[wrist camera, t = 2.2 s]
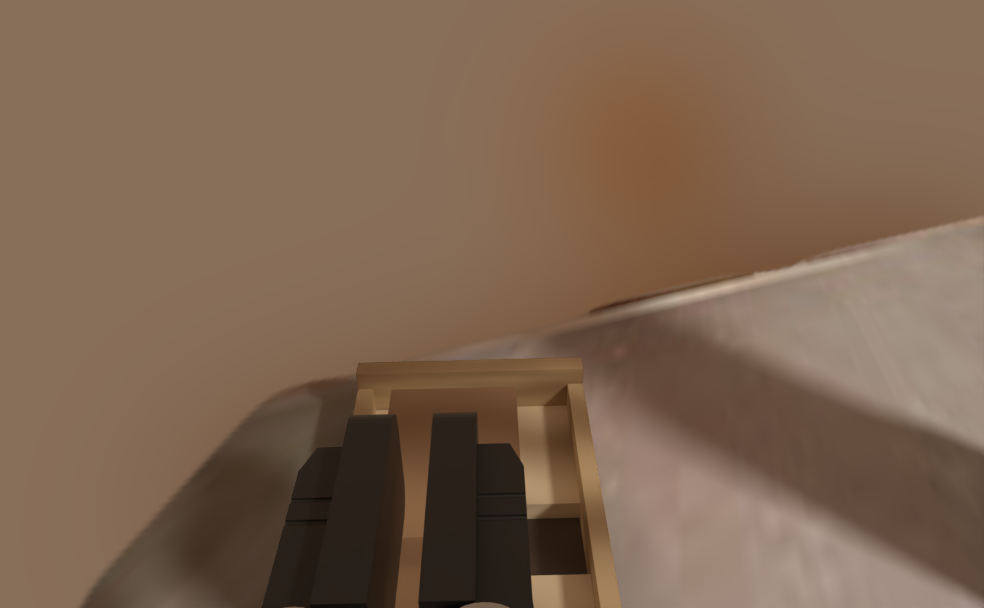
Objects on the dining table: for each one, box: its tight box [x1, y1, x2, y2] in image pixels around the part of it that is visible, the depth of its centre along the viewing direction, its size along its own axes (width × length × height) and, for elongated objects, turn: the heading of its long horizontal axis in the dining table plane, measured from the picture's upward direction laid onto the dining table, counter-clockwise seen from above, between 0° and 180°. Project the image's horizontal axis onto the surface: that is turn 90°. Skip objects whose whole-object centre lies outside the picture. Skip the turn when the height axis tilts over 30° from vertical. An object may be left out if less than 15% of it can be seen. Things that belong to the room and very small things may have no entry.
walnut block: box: [388, 387, 520, 608], centre depth 26 cm, size 6×4×12 cm, turn 1°
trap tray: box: [353, 357, 621, 608], centre depth 34 cm, size 22×12×4 cm, turn 1°
